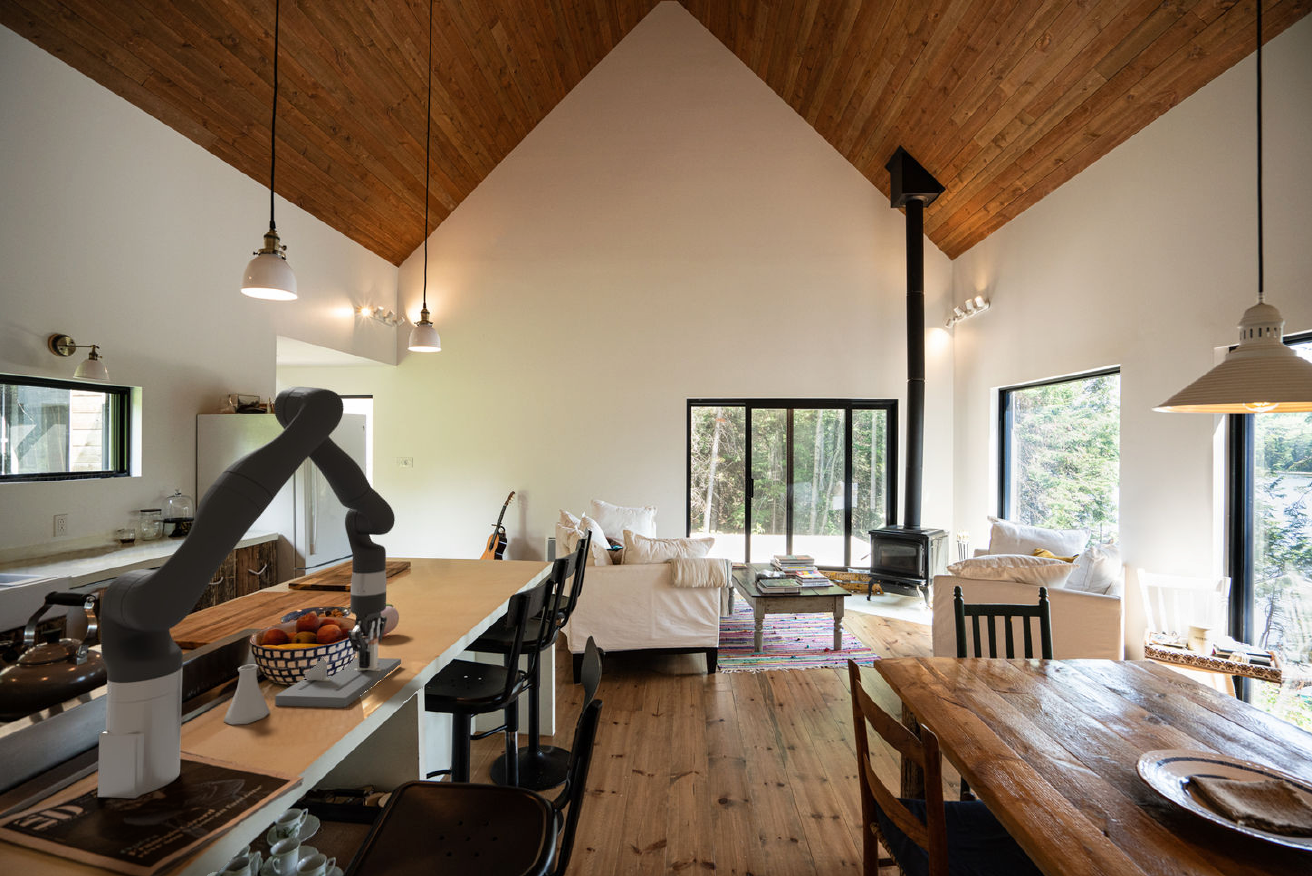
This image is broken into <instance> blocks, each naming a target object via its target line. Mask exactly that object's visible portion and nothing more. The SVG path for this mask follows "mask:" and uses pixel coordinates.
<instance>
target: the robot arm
mask: <svg viewBox="0 0 1312 876" xmlns="http://www.w3.org/2000/svg"><path fill="white" fill-rule="evenodd" d="M344 409H345V408H344V403H343V400H342V397H341V396H340V395H339V394H338V393H336V392H335V391H333V390H331V389H328V388H321V387H320V388H319V387H310V386H290V387H287V388H284V389H282V390H281V391H280V392H279V393H278V394H277V396H276V397H275V401H274V403H273V413H274V415H275V417H276V420H277V422H278V423H279V424H280V426H281V427H282V428H283V429H284V430H282V432H281V433H279V434H278V435H277V436H276V437H274V438H273V439H271V440H270V441H269V442H266V443H265V444H263V445H262V446H260V447H258V448H256V449H254V450H252V451H249V453H247V454H245V455H243V456H242V457H240V458H239V459H237V460H236V461H234V462H233V463H231V464H230V465H229V466H228V467H226V469H225V470H224V471H223V472H222V473H221V474H220V475H219V476H218V477H217V479H216V480H215V481H213V483H212V484H211V485H210V486H209V488H208V489H207V490H206V492H205V493H204V494H203V495H202V498H201V499H200V501H199V504H198V505H197V508H196V512H195V515H194V518H193V522H192V525H191V527H190V529H189V532H188V534H187V535H186V538H185V539H184V540H183V542H182V543H181V545H180V546H178V548H177V550H176V551H175V552H174V553H172V555H171V556H170V557H169V558H168V559H167V560H166V562H165V563H163V564H162V565H161V567H159V568H158V569H157V570H154V569H148V568H147V569H145V568H144V569H132V570H130V571H126V572H124V573H122V574H121V575H119V576H117V577H116V578H115V579H114V580H112V581H111V583H110V584H109V585H108V586H107V587H106V590H105V591H104V594H103V597H102V598H101V605H100V651H101V652H100V653H101V658H102V661H103V663H104V665H105V667H106V673H107V675H106V678H107V679H106V681H107V682H106V706H105V707H106V708H105V711H106V712H105V731H102V732H101V733H99V736H98V739H99V740H98V765H97V766H98V767H97V768H98V769H97V770H98V772H97V775H98V776H97V798H115V799H116V798H117V799H137V798H138V797H140V796H142V795H144V794H148V793H150V792H154V791H157V790H159V789H161V788H163V787H165V786H168V785H170V783H171V784H172V782H174V781H175V780H176V779H177V778H178V777H179V776H180V773H181V748H182V747H181V745H182V744H181V742H182V740H181V739H182V737H181V736H182V735H181V734H182V733H181V732H182V700H183V699H182V695H183V694H182V693H183V661H184V660H183V658H184V655H183V654H184V653H183V650H182V649H181V647H180V646H179V645H178V644H177V643H176V642H175V641H174V638H173V637H172V635H171V632H170V629H172V628H174V627H176V626H177V625H179V624H180V623H181V622H182V621H184V619H186V618H187V617H188V615H189V614H190V613H191V612H192V611H193V609H194V608H195V606H196V604H197V603H198V601H199V600H200V598H201V597H202V596H203V594H204V592H205V591H206V589H207V587H208V586H209V584H210V583H211V581H212V580H213V578H214V577H215V575H216V573H217V572H218V571H219V569H220V567H221V566H222V565H223V563H224V562H225V560H226V559H227V558H228V556H230V554H231V553H232V551H234V549H235V547H236V546H237V545H238V544H239V542H241V540H242V539H243V538H244V536H245V534H246V533H247V532H248V531H249V530H250V528H252V526H253V525H254V523H255V522H256V521H257V520H258V519H259V518H260V517H261V515H262V514H263V513H265V510H266V509H267V508H268V507H269V506H270V504H271V503H272V501H273V500H274V499H275V498H276V496H277V495H278V493H279V492H280V491H281V489H282V488H283V487H284V486H285V485H286V483H287V482H288V481H289V480H290V479H291V478H292V476H293V475H294V474H295V473H296V472H297V470H298V469H299V468H300V466H301V465H302V464H303V463H304V462H305V460H307V459H308V458H309V459H310V460H311V461H312V463H313V464H314V465H315V466H316V468H317V469H318V470H319V471H320V473H322V475H323V477H324V478H325V480H326V481H327V482H328V484H329V486H330V488H331V489H332V491H333V493H334V495H335V496H336V498H337V500H338V501H339V502H340V504H341V505H342V506H343V507H345V508H347V509H348V510H347V512H346V514H345V518H344V519H345V520H344V528H345V531H346V532H345V533H346V535H347V539H348V542H349V546H350V549H351V552H352V553H351V554H352V569H351V570H352V571H351V572H352V573H351V574H352V575H351V578H350V607H349V609H350V613H352V614H353V615H355V620H354V628H353V629H352V630H351V629H350V630H348V631H347V637H348V640H349V642H350V645H351V648H352V651H353V652H357V651H358V652H359V667H360V668H368V667H370V645H371V641H372V640H373V638H378V643H382V639H383V637H384V636H383V633H384V629H385V625H386V621H387V617H382V616H381V612H382V611H384V610H385V609H386V604H387V584H388V583H387V574H386V568H387V567H386V566H387V559H386V558H387V553H386V552H387V551H386V547H385V546H384V545H381V544H378V543H376V542H374V541H373V540H372V538H371V536H382V535H383V536H384V535H387V534H388V533H389V532H391V531H392V529H393V527H394V524H395V517H396V516H395V513H394V510H393V509H392V507H391V505H390V504H389V503H388V502H387V500H385V499H384V498H383V497H382V496H381V495H380V494H379V493H378V492H377V491H376V490H374V489H373V488H372V486H371V484H370V483H369V481H368V479H367V477H366V475H365V473H364V471H363V470H362V468H361V467H360V466H359V464H358V463H357V462H356V460H354V458H352V457H351V456H350V455H349V454H348V453H346V451H344V450H343V449H342V448H341V447H340V446H338V445H337V443H336V442H334V441H333V439H332V438H331V437H330V435H331V434H332V433H333V432H334V431H335V430H336V429H337V427H338V426H339V424H340V422H341V420H342V418H343V415H344ZM370 535H371V536H370ZM382 636H383V637H382ZM365 642H366V645H365ZM357 645H358V646H357Z"/></svg>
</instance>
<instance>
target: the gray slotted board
mask: <svg viewBox="0 0 1312 876" xmlns="http://www.w3.org/2000/svg"><path fill="white" fill-rule="evenodd" d="M353 658H354V659H353V661H351V663H350V664H349V665H348V666H347V667H346V668H345V669H344V670H342V671H339V672H338V673H336V674H335V675H333V676H330V677H327V678H325V679H323V680H302V679H301V680H300V681H298V682H297V683H295V684H293V685H291V686H289V687H288V688H286V689H284V690H283V691H281V692H278V693H277V694H275V695H274V696H275V697H274V706H280V707H281V706H284V707H285V706H286V707H314V708H315V707H316V708H317V707H318V708H343V707H345V708H347V707H348V706H350V705H351V704H352V703H354V702H355V701H356V700H358V699H359V698H360V697H359V696H360V695H362V694H363V693H364V692H365V691H367V690H369V689H370V688H371V687H373V686H374V685H375V684H376V683H377V682H378V681H380V680H382V679H383V678H384V677H385V676H386V675H387V674H388V673H390V672H391V671H393V670H394V669H395V668H396V667H397V666H398V665H400V664H401V665H402V659H401V658H386V657H385V658H381V657H378V668H376V669H375V670H357V657H353ZM374 687H375V686H374ZM374 687H373V688H374ZM370 690H371V689H370ZM370 690H369V691H370ZM367 692H368V691H367ZM363 695H364V694H363ZM363 695H362V696H363ZM358 697H359V698H358ZM357 698H358V699H357ZM354 700H355V701H354ZM353 701H354V702H353ZM351 702H352V703H351ZM350 703H351V704H350ZM349 704H350V705H349ZM346 706H347V707H346Z"/></svg>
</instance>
